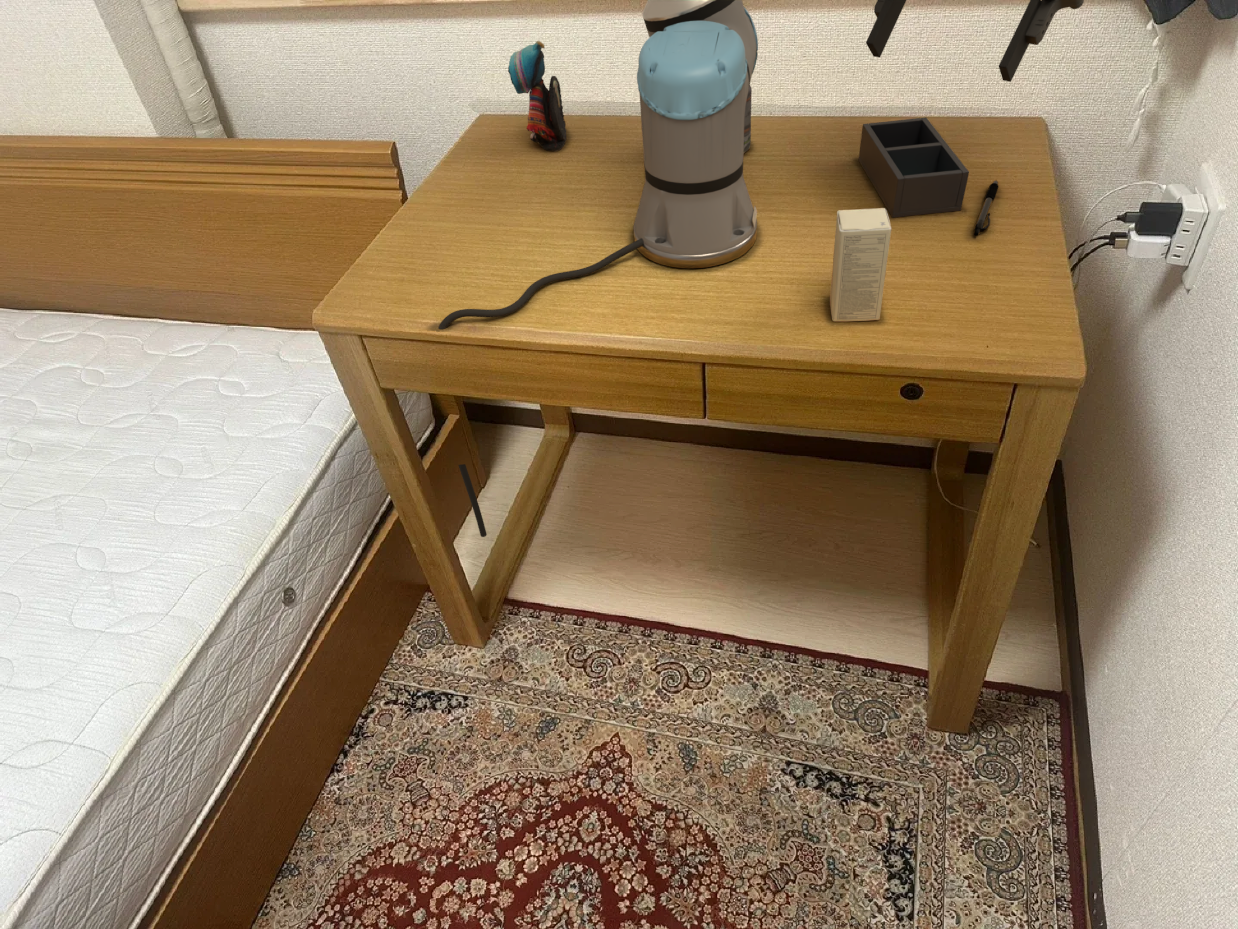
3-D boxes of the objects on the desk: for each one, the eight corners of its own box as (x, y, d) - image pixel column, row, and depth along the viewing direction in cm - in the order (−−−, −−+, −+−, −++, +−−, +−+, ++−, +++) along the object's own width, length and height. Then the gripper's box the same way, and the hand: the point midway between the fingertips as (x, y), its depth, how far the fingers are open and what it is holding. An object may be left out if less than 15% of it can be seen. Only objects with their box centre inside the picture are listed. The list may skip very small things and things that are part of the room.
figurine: (529, 128, 135) (513, 27, 124) (573, 127, 134) (561, 24, 123) (517, 156, 128) (498, 51, 117) (563, 155, 127) (549, 49, 116)
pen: (984, 240, 101) (986, 231, 100) (970, 237, 101) (972, 229, 101) (1004, 186, 109) (1006, 178, 109) (990, 184, 110) (992, 176, 109)
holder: (892, 217, 106) (898, 178, 103) (858, 160, 118) (862, 123, 115) (961, 210, 106) (969, 171, 103) (920, 153, 118) (926, 116, 114)
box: (875, 299, 94) (889, 206, 87) (880, 321, 91) (894, 228, 84) (826, 299, 95) (836, 208, 87) (829, 322, 92) (839, 229, 84)
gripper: (1184, -125, 76) (1070, 104, 79) (925, -138, 89) (835, 59, 92) (1187, -187, 70) (1062, 64, 73) (907, -192, 83) (811, 21, 86)
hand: (935, 61), depth 83 cm, fingers open, 13 cm apart
